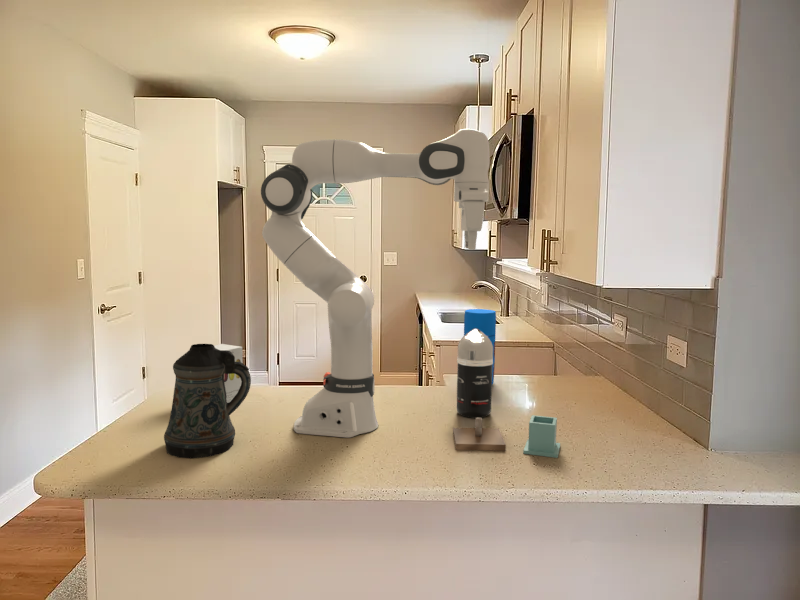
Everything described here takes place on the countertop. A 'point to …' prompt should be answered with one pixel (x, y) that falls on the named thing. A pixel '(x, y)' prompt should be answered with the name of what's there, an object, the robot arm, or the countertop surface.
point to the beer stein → (204, 402)
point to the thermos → (482, 326)
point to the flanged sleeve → (542, 437)
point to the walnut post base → (478, 438)
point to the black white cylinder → (474, 375)
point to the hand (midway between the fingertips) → (470, 249)
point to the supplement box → (231, 380)
